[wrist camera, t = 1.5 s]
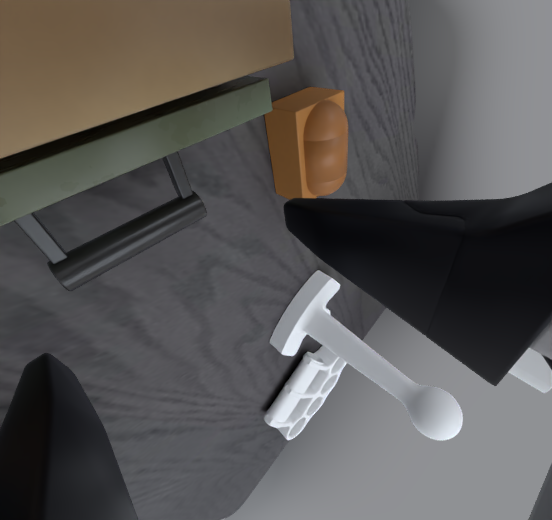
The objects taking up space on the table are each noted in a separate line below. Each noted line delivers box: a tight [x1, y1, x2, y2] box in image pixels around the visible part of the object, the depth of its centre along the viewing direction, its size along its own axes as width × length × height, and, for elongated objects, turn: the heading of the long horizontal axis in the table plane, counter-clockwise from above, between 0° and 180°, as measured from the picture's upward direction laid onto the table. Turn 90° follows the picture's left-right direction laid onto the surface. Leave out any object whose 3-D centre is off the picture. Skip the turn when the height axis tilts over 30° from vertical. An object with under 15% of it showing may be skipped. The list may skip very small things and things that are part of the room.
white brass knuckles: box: [264, 345, 347, 440], centre depth 49 cm, size 3×18×15 cm
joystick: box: [270, 270, 463, 440], centre depth 33 cm, size 11×8×20 cm
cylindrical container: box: [509, 348, 552, 393], centre depth 41 cm, size 7×7×25 cm
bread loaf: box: [264, 87, 348, 200], centre depth 23 cm, size 7×5×5 cm
